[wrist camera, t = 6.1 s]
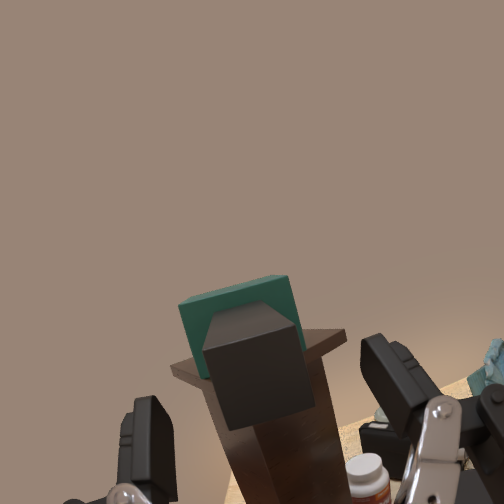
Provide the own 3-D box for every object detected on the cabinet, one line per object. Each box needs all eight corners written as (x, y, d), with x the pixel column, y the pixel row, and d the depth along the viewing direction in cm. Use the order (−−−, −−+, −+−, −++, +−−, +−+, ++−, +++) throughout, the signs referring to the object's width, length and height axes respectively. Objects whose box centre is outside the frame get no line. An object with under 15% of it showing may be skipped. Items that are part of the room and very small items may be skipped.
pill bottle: (385, 530, 27) (380, 479, 27) (342, 528, 30) (331, 478, 30) (396, 500, 32) (392, 447, 32) (357, 500, 35) (347, 449, 36)
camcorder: (461, 491, 27) (465, 441, 27) (358, 476, 41) (350, 432, 41) (492, 413, 40) (492, 367, 41) (409, 414, 54) (404, 373, 54)
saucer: (425, 394, 56) (426, 403, 56) (390, 390, 64) (391, 398, 64) (400, 419, 51) (401, 428, 50) (364, 411, 59) (365, 420, 59)
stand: (318, 615, 15) (227, 387, 17) (265, 577, 23) (169, 365, 25) (381, 563, 21) (344, 328, 22) (324, 537, 29) (265, 329, 30)
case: (206, 354, 26) (189, 297, 26) (287, 332, 27) (271, 274, 27) (181, 465, 9) (131, 333, 9) (375, 410, 10) (347, 274, 10)
